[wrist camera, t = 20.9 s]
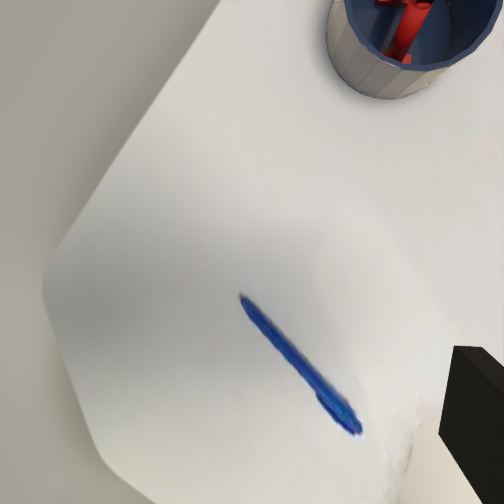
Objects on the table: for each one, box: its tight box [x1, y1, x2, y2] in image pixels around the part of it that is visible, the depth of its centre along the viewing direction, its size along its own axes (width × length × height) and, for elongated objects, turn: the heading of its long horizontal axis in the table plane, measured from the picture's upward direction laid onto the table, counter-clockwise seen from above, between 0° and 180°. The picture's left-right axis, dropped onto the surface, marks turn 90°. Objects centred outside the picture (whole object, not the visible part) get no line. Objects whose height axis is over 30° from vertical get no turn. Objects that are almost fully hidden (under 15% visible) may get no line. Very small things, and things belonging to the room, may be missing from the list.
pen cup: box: [326, 0, 503, 99], centre depth 31 cm, size 10×10×8 cm
